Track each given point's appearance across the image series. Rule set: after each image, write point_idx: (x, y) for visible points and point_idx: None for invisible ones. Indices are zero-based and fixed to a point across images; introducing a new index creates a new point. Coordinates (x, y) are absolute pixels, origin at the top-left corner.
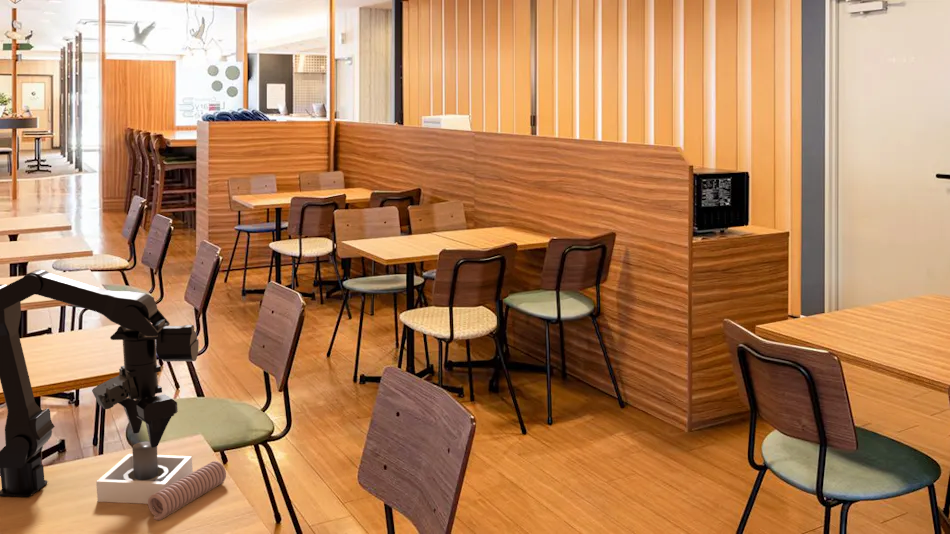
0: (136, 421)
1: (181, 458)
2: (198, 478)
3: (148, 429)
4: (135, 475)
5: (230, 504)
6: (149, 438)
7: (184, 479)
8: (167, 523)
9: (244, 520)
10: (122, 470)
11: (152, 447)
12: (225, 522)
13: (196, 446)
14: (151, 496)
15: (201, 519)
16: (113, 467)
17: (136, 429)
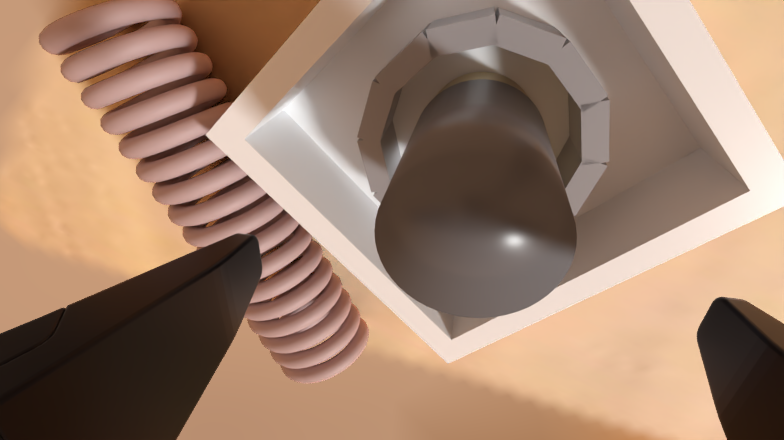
0: (780, 436)
1: (467, 330)
2: None
3: (5, 341)
4: (470, 85)
5: (151, 255)
6: (180, 272)
7: (188, 218)
8: None
9: (27, 225)
10: (666, 76)
11: (236, 235)
12: (29, 181)
13: (696, 434)
14: (85, 8)
15: (74, 138)
16: (683, 8)
17: (723, 346)
